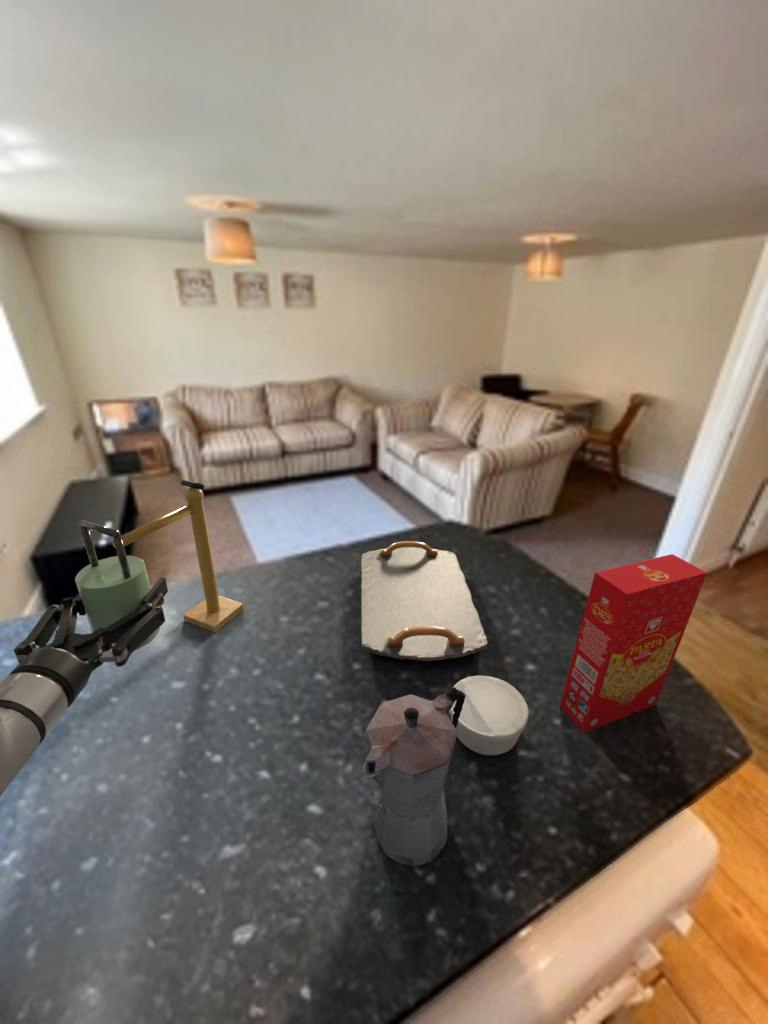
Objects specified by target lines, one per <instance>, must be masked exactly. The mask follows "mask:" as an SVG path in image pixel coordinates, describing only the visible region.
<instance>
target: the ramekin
mask: <svg viewBox="0 0 768 1024" xmlns="http://www.w3.org/2000/svg"><path fill="white" fill-rule="evenodd" d="M453 687H455V688H456V689H457V690H458V689H459V691H462V692H463V693H464V694H465V695H466V697H465V701H464V704H463V707H462V711H461V713H460V717H459V719H458V724H457V727H456V731H457V733H458V734H457V738H458V740H459V742H461V744H463V745H464V746H465V747H466V748H468V749H469V750H471V751H473V752H474V753H477V754H479V755H483V756H498V755H502V754H505V753H507V752H509V751H510V750H512V749H513V748H514V747H515V745H516V744H517V742H518V740H519V738H520V736H521V735H522V732H523V731H524V730H525V729H526V727H527V724H528V721H529V707H528V704H527V702H526V699H525V698H524V697H523V695H522V694H521V693H520V692H519V691H518V690H517V688H515V687H514V686H513V685H512V684H510V683H509V682H507V681H505V680H502V679H501V678H498V677H493V676H489V675H473V676H468V677H465V678H463V679H461V680H459V681H457V682H456V684H454V686H453ZM455 703H456V701H455V702H454V703H453V707H452V708H451V709H450V710H449V711H448V712H449V714H450V720H451V721H453V714H454V712H453V708H454V707H455Z"/></svg>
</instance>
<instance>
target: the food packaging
mask: <svg viewBox="0 0 768 1024" xmlns="http://www.w3.org/2000/svg"><path fill="white" fill-rule="evenodd" d="M707 574H708V572H707V571H705V570H703V569H702V568H700V567H698V566H696V565H694V564H692V563H690V562H688V561H687V560H685V559H682V558H680V557H679V556H677V555H675V554H672V553H671V554H666V555H662V556H658V557H654V558H649V559H645V560H642V561H638V562H633V563H629V564H623V565H621V566H616V567H612V568H607V569H603V570H599V571H595V572H594V575H593V578H592V582H591V587H590V590H589V594H588V598H587V602H586V605H585V609H584V612H583V616H582V621H581V624H580V627H579V632H578V636H577V639H576V643H575V647H574V651H573V655H572V657H571V658H572V659H571V661H570V666H569V670H568V674H567V678H566V681H565V685H564V688H563V693H562V695H561V699H560V703H559V707H560V708H561V709H562V710H563V711H564V712H565V714H567V716H569V718H570V719H571V720H572V721H573V722H574V723H575V725H577V726H578V727H579V729H580V730H581V731H582V732H583V733H589V732H591V731H593V730H596V729H598V728H601V727H603V726H606V725H608V724H611V723H613V722H615V721H619V720H620V719H623V718H625V717H629V716H631V715H633V714H632V713H634V714H636V713H639V712H641V711H644V710H646V709H648V707H649V708H651V707H653V705H654V706H656V705H657V702H658V701H659V697H660V695H661V693H662V691H663V688H664V685H665V682H666V680H667V678H668V675H669V672H670V669H671V668H672V665H673V662H674V659H675V657H676V654H677V651H678V649H679V646H680V644H681V642H682V639H683V636H684V633H685V632H686V629H687V626H688V623H689V621H690V619H691V616H692V613H693V610H694V609H695V605H696V603H697V601H698V598H699V596H700V593H701V590H702V588H703V585H704V582H705V580H706V577H707ZM655 704H656V705H655ZM643 709H644V710H643ZM640 710H641V711H640ZM638 711H639V712H638ZM635 712H636V713H635Z"/></svg>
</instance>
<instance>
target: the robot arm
mask: <svg viewBox="0 0 768 1024" xmlns="http://www.w3.org/2000/svg"><path fill="white" fill-rule="evenodd" d="M150 588H151V590H150V591H149V592H148V593H147V595H146V596H145V597H144V598H143V600H142V601H141V605H142V606H141V607H139V608H138V609H136V610H135V611H133V612H131V613H130V614H128V615H126V616H125V617H123V618H121V619H120V620H118V621H116V622H115V623H113V624H112V625H110V626H108V627H107V628H103V627H101V628H99V629H98V630H96V631H94V632H93V633H92V632H90V633H84V634H82V633H78V632H77V633H75V632H76V627H77V620H78V616H86V613H85V609H84V606H83V603H82V600H81V597H80V594H79V593H78V594H77V595H76V596H75V597H74V598H71V597H65V598H63V599H62V600H61V603H62V605H60V606H59V605H58V604H56V603H55V604H51V605H49V606H48V607H47V608H46V610H45V611H44V613H43V614H42V615H41V617H40V618H39V620H38V621H37V623H35V625H34V627H33V628H32V629H31V631H30V632H29V634H28V635H27V637H26V638H25V639H24V640H23V641H21V642H20V643H19V644H18V645H17V646H15V647H14V648H13V653H14V655H15V657H16V660H17V663H18V665H17V666H15V668H13V670H12V671H11V672H10V673H9V674H8V676H5V677H3V679H2V680H1V681H0V798H1V796H2V795H3V794H4V793H5V792H6V790H7V789H8V788H9V786H11V784H12V782H13V781H14V780H15V778H16V777H17V776H18V774H19V773H20V771H21V770H22V769H23V768H24V766H26V764H27V763H28V761H29V760H30V759H31V757H32V756H33V754H34V753H35V752H36V751H37V749H38V748H39V747H40V745H41V744H42V742H43V741H44V740H45V739H46V737H47V736H48V735H49V734H50V732H51V731H52V730H53V728H54V727H55V726H56V725H57V724H58V722H59V721H60V720H61V718H62V717H63V716H64V715H65V714H66V711H67V709H69V708H70V706H71V705H72V704H73V703H74V702H75V700H76V699H77V698H78V697H79V695H80V694H81V693H82V691H83V690H84V689H85V688H86V686H87V684H88V683H89V680H90V677H91V675H92V673H93V672H94V671H95V670H97V668H99V667H101V666H102V665H103V664H104V663H114V664H115V666H116V667H118V668H120V667H121V668H122V667H123V666H125V665H126V664H127V662H128V661H129V659H130V657H131V655H132V654H133V653H134V652H135V651H137V650H138V649H137V648H138V647H139V646H140V645H141V644H142V643H143V642H144V641H145V640H146V639H147V638H148V637H149V636H150V635H151V634H153V633H154V632H155V631H156V630H157V629H158V628H159V627H160V628H161V626H162V625H163V624H164V623H165V622H166V616H165V613H164V607H163V605H164V603H165V596H166V595H167V593H168V592H169V590H168V584H167V580H166V577H162V576H161V577H159V578H158V580H157V581H156V582H155V583H154V584H153V586H152V587H150ZM54 633H55V635H54ZM53 635H54V639H53V640H52V642H50V643H49V641H50V640H51V638H52V636H53ZM99 638H101V640H102V643H103V646H102V645H101V641H100V639H99ZM136 649H137V650H136Z"/></svg>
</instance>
